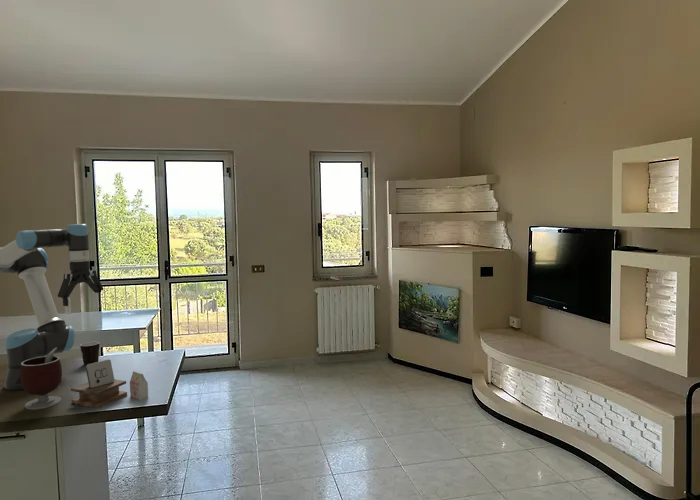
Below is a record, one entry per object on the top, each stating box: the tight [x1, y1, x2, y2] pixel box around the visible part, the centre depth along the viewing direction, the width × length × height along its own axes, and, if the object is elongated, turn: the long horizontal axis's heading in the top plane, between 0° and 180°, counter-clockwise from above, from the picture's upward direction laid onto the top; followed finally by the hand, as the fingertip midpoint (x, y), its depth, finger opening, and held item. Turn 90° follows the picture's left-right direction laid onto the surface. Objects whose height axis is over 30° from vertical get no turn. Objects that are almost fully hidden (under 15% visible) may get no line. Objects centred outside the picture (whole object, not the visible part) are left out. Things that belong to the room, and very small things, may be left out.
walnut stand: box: [70, 378, 128, 409], centre depth 202 cm, size 14×14×6 cm
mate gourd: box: [20, 348, 63, 411], centre depth 199 cm, size 16×14×20 cm
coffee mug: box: [79, 341, 100, 367], centre depth 250 cm, size 12×9×10 cm
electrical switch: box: [84, 358, 115, 388], centre depth 202 cm, size 9×5×9 cm, turn 142°
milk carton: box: [129, 370, 149, 401], centre depth 203 cm, size 4×7×10 cm, turn 53°
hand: (82, 310), depth 216 cm, fingers open, 13 cm apart
